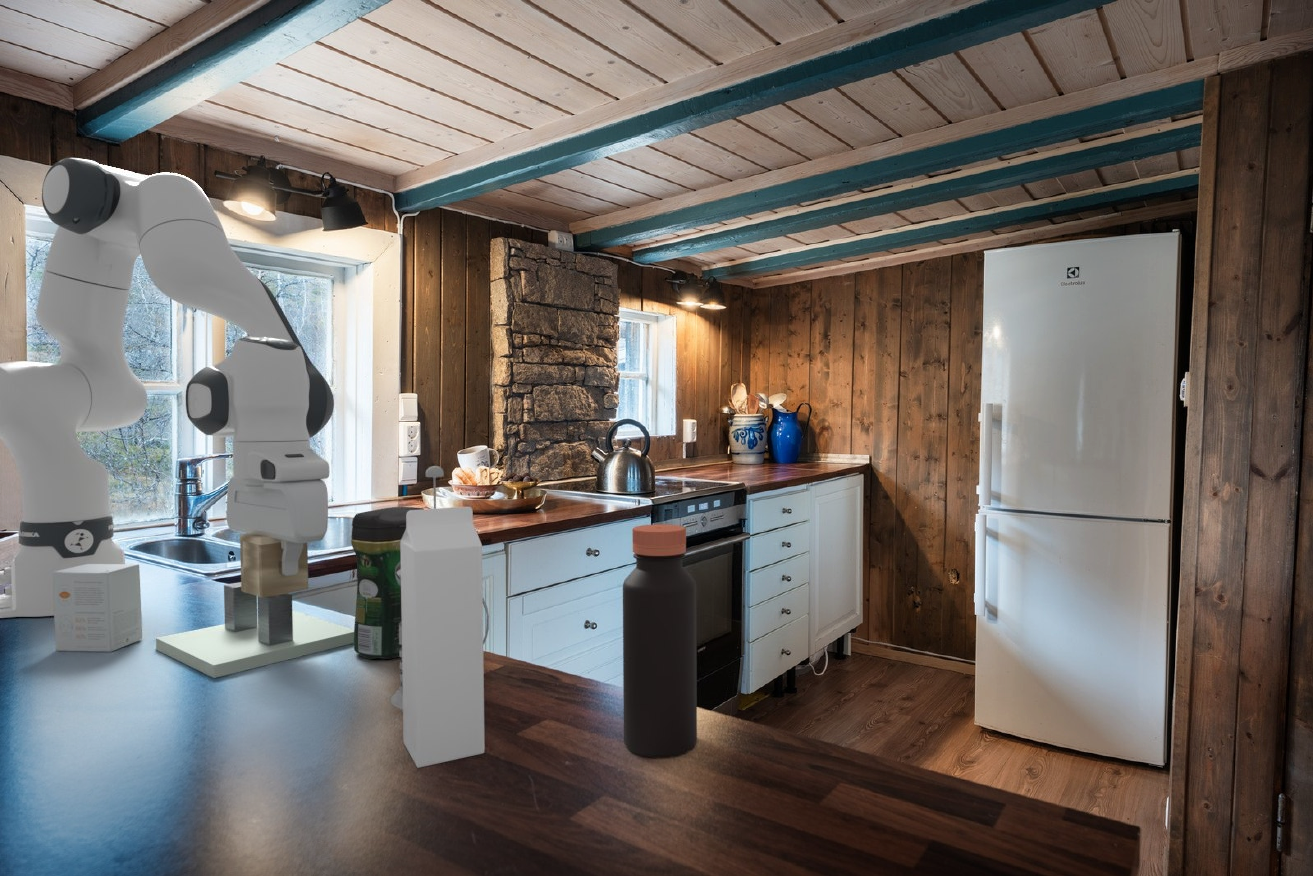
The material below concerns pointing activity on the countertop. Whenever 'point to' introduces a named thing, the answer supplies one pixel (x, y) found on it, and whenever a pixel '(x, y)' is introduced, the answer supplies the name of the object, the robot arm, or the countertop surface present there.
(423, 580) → the milk
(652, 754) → the bottle
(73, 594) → the small box
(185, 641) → the board
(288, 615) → the post
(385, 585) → the coffee jar
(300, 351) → the robot arm
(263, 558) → the wood grain cuboid
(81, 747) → the countertop surface
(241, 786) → the countertop surface
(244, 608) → the post
